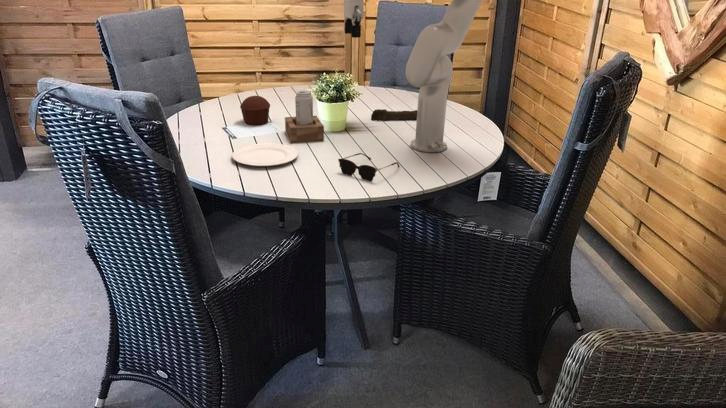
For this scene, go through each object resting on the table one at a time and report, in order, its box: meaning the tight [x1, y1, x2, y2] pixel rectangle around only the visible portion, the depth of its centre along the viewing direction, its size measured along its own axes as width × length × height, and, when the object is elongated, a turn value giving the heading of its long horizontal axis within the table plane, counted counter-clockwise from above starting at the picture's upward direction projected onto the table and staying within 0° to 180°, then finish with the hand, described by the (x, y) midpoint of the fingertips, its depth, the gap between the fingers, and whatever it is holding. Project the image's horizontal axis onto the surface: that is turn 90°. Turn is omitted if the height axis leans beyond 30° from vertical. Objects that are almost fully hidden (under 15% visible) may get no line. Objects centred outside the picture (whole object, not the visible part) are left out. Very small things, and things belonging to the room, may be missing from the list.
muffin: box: [239, 95, 271, 127], centre depth 205 cm, size 12×11×10 cm
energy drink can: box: [294, 90, 314, 125], centre depth 190 cm, size 6×6×15 cm
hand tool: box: [370, 109, 417, 122], centre depth 215 cm, size 19×4×5 cm, turn 97°
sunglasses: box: [337, 152, 401, 182], centre depth 165 cm, size 14×16×5 cm
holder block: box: [284, 115, 325, 144], centre depth 192 cm, size 14×12×6 cm
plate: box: [231, 142, 299, 168], centre depth 172 cm, size 21×21×2 cm
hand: (352, 35), depth 193 cm, fingers open, 9 cm apart
